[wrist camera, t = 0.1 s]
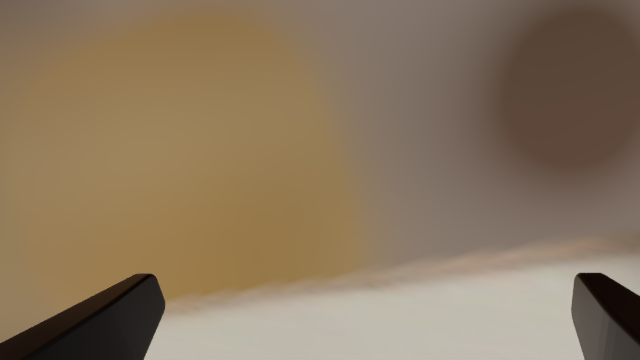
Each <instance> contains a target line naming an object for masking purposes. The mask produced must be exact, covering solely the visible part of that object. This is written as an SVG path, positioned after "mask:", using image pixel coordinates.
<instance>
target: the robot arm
mask: <svg viewBox="0 0 640 360" xmlns="http://www.w3.org/2000/svg"><path fill="white" fill-rule="evenodd" d="M164 310H165V300H164V297H163V294H162V291H161V289H160V286H159V283H158V281H157V278H156V277H155V276H154V275H153V274H145V273H144V274H143V273H142V274H135V275H133V276H131V277H129V278H127V279H125V280H123V281H121V282H119V283H117V284H115V285H113V286H111V287H109V288H107V289H105V290H104V291H101V292H100V293H98V294H96V295H94V296H92V297H90V298H88V299H86V300H84V301H82V302H80V303H78V304H76V305H74V306H72V307H70V308H68V309H67V310H64V311H63V312H61V313H59V314H57V315H55V316H53V317H51V318H49V319H47V320H45V321H43V322H41V323H39V324H37V325H35V326H33V327H31V328H29V329H27V330H25V331H23V332H22V333H19V334H18V335H16V336H14V337H12V338H10V339H8V340H6V341H4V342H2V343H0V360H144V357H145V355H146V353H147V350H148V348H149V346H150V343H151V341H152V339H153V336H154V334H155V332H156V329H157V327H158V325H159V322H160V320H161V318H162V315H163V313H164ZM571 312H572V319H573V323H574V326H575V329H576V332H577V336H578V339H579V342H580V345H581V349H582V352H583V355H584V358H585V360H640V296H639V295H637V294H636V293H634V292H632V291H631V290H629V289H627V288H626V287H624V286H622V285H621V284H619V283H617V282H616V281H614V280H613V279H611V278H609V277H608V276H606V275H604V274H602V273H578V274H577V275H576V277H575V279H574V288H573V297H572V307H571Z"/></svg>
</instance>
